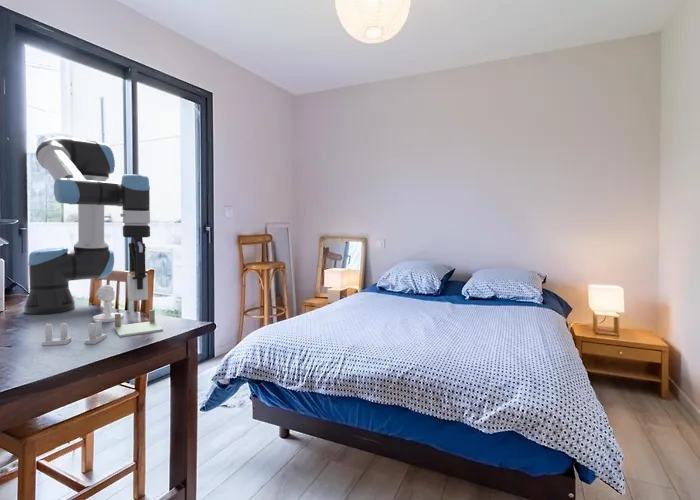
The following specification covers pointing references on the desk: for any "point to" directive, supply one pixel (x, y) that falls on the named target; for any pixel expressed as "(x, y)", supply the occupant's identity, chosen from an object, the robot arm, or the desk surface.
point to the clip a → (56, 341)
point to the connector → (131, 286)
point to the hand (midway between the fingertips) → (137, 297)
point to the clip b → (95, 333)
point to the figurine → (106, 304)
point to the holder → (136, 326)
